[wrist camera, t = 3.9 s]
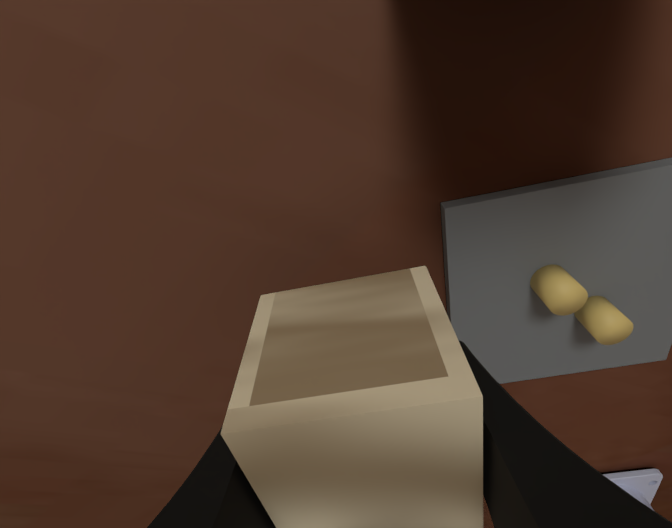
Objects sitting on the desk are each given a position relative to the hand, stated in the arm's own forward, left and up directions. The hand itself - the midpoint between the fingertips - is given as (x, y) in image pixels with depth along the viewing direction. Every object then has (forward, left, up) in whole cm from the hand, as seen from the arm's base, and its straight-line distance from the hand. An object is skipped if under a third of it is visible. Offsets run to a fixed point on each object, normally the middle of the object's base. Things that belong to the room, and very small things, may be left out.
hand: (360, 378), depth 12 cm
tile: (-2, -9, -5) cm, 10 cm away
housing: (0, 0, -2) cm, 2 cm away
